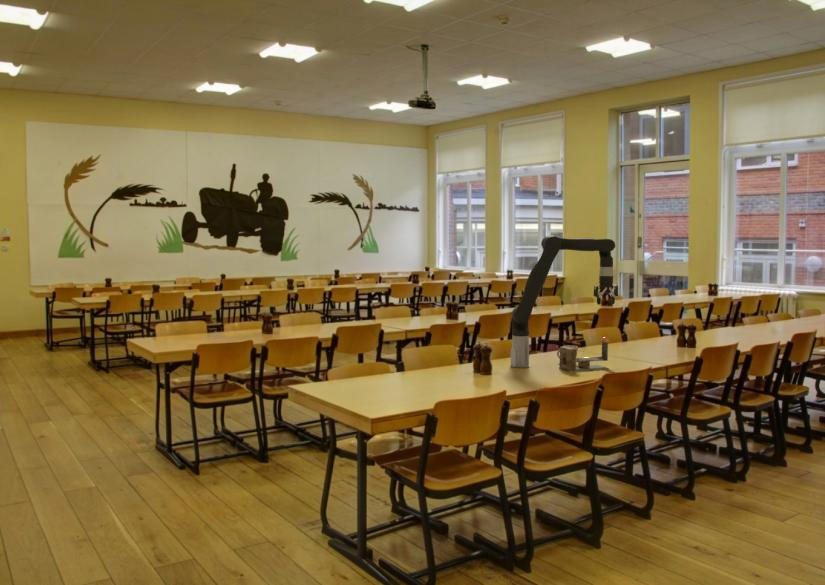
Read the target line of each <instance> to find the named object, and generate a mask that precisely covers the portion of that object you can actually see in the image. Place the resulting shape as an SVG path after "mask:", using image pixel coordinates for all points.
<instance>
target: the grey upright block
mask: <svg viewBox="0 0 825 585" xmlns="http://www.w3.org/2000/svg"><path fill="white" fill-rule="evenodd" d="M563 346H564V347H563ZM563 346H560V347H559V349H560V352H559V356H560V359H559V367H560V370H563V371H566V370H567V371H566V372H569V371H572V370H576V366H577V362H576V358H577V357H576V349H574V348H571V347H567V346H565V345H563ZM562 368H563V369H562ZM569 373H570V372H569Z"/></svg>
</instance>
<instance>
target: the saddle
mask: <svg viewBox="0 0 825 585" xmlns="http://www.w3.org/2000/svg"><path fill="white" fill-rule="evenodd" d="M577 363H578V364H577V366H578V367H579V368H582V369H587V368H590V365H591V362H590V360H582V362H577Z"/></svg>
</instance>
